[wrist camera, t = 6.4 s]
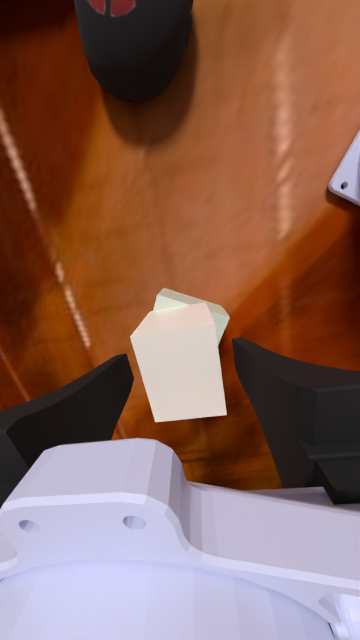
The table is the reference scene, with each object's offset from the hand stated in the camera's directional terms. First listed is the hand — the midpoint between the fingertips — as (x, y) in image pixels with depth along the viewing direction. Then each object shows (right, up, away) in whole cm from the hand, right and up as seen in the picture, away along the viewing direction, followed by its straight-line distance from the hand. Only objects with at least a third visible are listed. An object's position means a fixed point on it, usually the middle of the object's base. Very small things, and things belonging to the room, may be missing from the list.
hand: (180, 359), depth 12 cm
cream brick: (0, +1, +3) cm, 3 cm away
